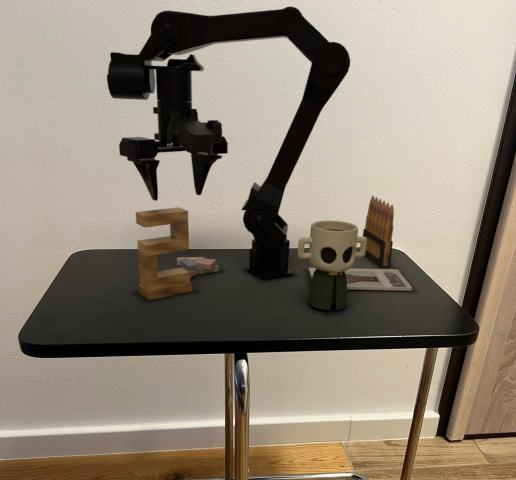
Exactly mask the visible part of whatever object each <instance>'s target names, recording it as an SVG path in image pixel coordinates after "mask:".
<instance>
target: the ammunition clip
mask: <svg viewBox="0 0 516 480" xmlns="http://www.w3.org/2000/svg"><path fill="white" fill-rule="evenodd" d="M394 209H395V208H394V205H393V204H391V205H390V203H389V202H387V203H386V201H385V200H383V201H382V199H381V198H380V199H378V197H377V196H376V197H375V196H374V195H371V198H370V201H369V205H368V210H367V214H366V216H365V217H366V218H365V226H364V228H363V231H362V237H366V238H367V244H366V252H365V256H364V257H366V258H367V259H369V260H370V261H371V262H372V263H375V264H376V265H377V266H378V267H380V268H390V267H391V261H392V252H393V244H394V241H393V234H394V233H393V232H394V218H395V217H394V216H395V210H394Z"/></svg>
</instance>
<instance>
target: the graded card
mask: <svg viewBox="0 0 516 480" xmlns="http://www.w3.org/2000/svg"><path fill="white" fill-rule="evenodd" d="M315 270H316V268H314V267H308V273H309V275H310V279H311V280H312V277H313V273H314V271H315ZM345 274H346V277H347V290H360V291H361V290H362V291H406V292H407V291H409V292H410V291H412V290H413V287H412V285H411V284H410V283H409V282H408V281H407V280H406V278H405V277H404V276H403V275H402V274H401V272H400V271H399V270H398V269H391V268H390V269H389V268H388V269H387V268H350V269H349V270H346V271H345Z"/></svg>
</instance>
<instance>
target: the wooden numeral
mask: <svg viewBox="0 0 516 480" xmlns="http://www.w3.org/2000/svg"><path fill="white" fill-rule="evenodd" d="M135 224H137V225H139V226H140V227H143V228H145V229H146V228H153V227H159V226H167V225H168V226H169V235H167V236H161V237H153V238H147V239H146V238H145V239H139V240H137V256H138V270H139V283H138V284H137V289H138V294H140V295H141V296H142V297H143V298H145V299H146V300H148V301H152V300H156V299H162V298H166V297H172V296H177V295H181V294H186V293H191V292H193V291H194V289H193V282H191V277H190V272H189V271H187V270H185V269H183V268H181V267H182V266H180V267H175V268H170V269H164V270H159V271H158V257H157V256H158V255H165V254H170V253H177V252H184V251H188V250H190V239H189V238H190V230H189V229H190V228H189V210H187V209H184V208H183V207H179V206H177V207H169V208H159V209H151V210H144V211H143V210H142V211H141V210H140V211H135Z"/></svg>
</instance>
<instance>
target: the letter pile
mask: <svg viewBox="0 0 516 480" xmlns="http://www.w3.org/2000/svg"><path fill="white" fill-rule="evenodd" d="M176 265H177V266H180V267H181V268H183V269H185V270H187V271H189V272H190V278H192V277H195V276H197V275H203V274H210V273H217V272H218V273H219V271H220V267H219V265H218V264H217V259H213V258H206V257H204V256H186V257H185V256H183V257H182V256H181V257H179V256H178V257H176Z"/></svg>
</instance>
